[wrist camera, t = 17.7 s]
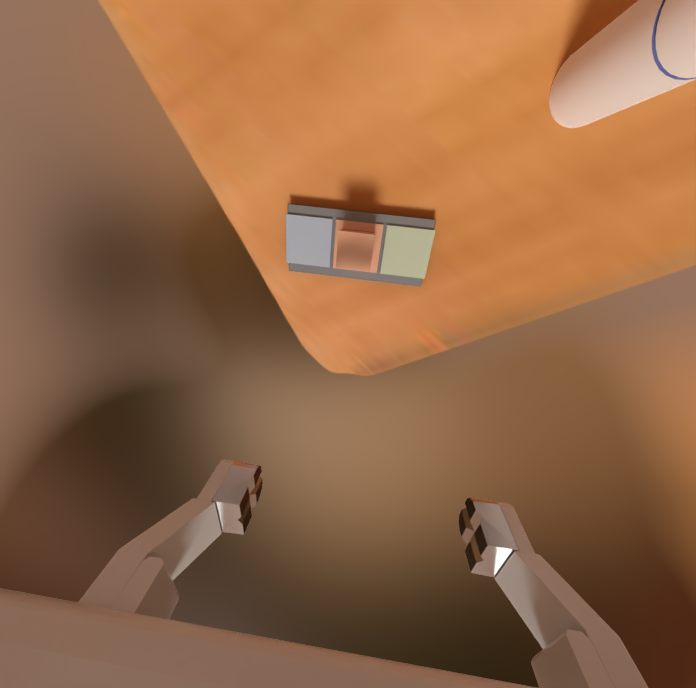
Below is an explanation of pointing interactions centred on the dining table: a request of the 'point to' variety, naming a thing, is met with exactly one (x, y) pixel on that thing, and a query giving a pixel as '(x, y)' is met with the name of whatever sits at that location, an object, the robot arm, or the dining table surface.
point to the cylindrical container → (627, 62)
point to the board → (390, 231)
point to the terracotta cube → (355, 249)
